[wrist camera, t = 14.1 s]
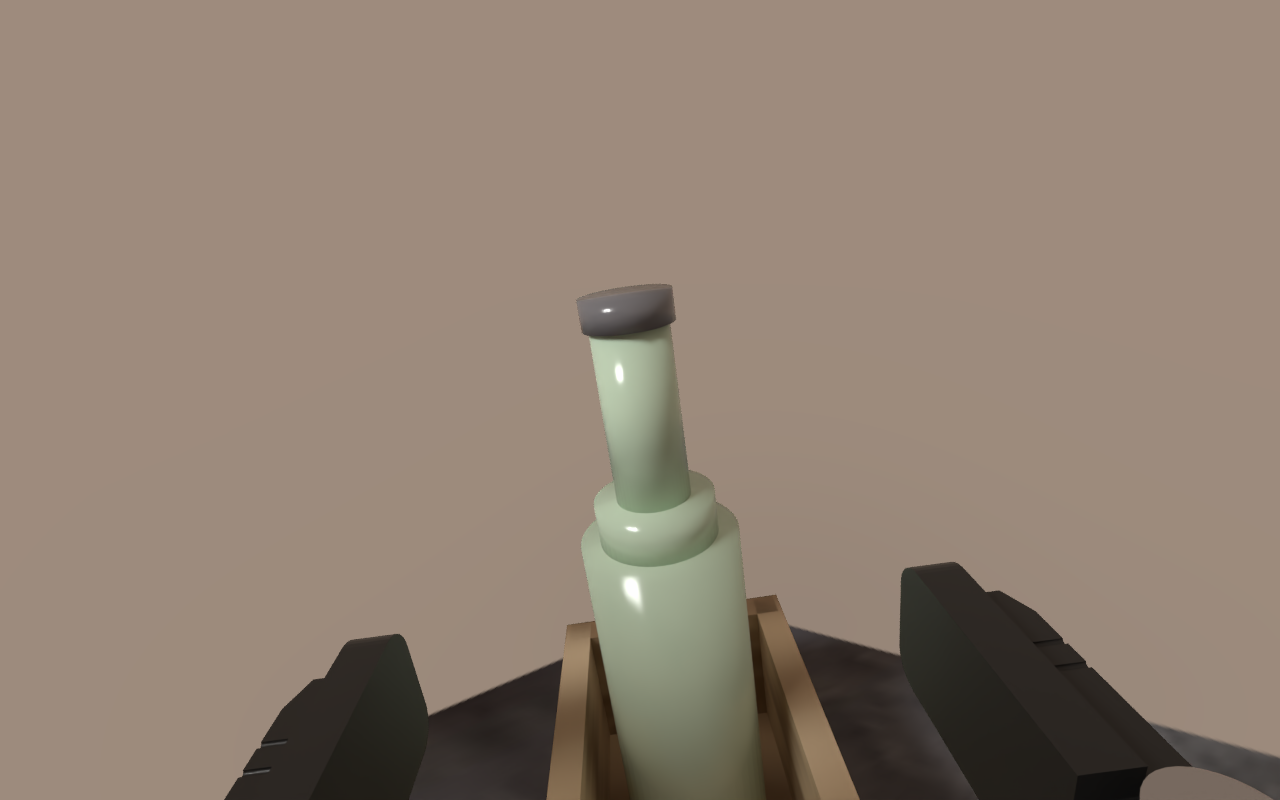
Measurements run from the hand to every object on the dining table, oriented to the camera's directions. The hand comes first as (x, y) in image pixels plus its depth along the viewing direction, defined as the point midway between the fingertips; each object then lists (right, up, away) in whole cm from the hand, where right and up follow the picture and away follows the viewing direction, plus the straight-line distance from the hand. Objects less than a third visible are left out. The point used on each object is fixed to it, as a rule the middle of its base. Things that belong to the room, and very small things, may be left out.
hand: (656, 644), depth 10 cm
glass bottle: (+2, -14, +16) cm, 21 cm away
